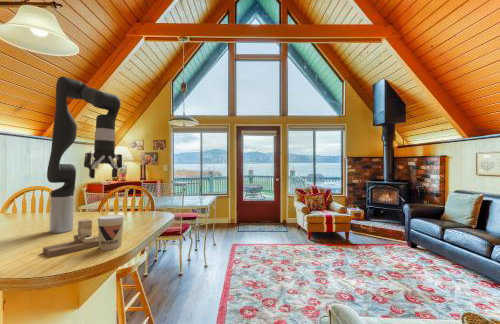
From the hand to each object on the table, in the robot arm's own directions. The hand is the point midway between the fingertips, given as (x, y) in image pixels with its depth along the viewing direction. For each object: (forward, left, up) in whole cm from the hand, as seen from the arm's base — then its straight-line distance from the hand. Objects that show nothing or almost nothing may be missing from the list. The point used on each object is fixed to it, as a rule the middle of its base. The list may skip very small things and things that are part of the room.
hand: (103, 177), depth 104 cm
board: (-1, -8, -27) cm, 29 cm away
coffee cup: (+8, 0, -28) cm, 29 cm away
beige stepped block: (-2, -5, -27) cm, 28 cm away
